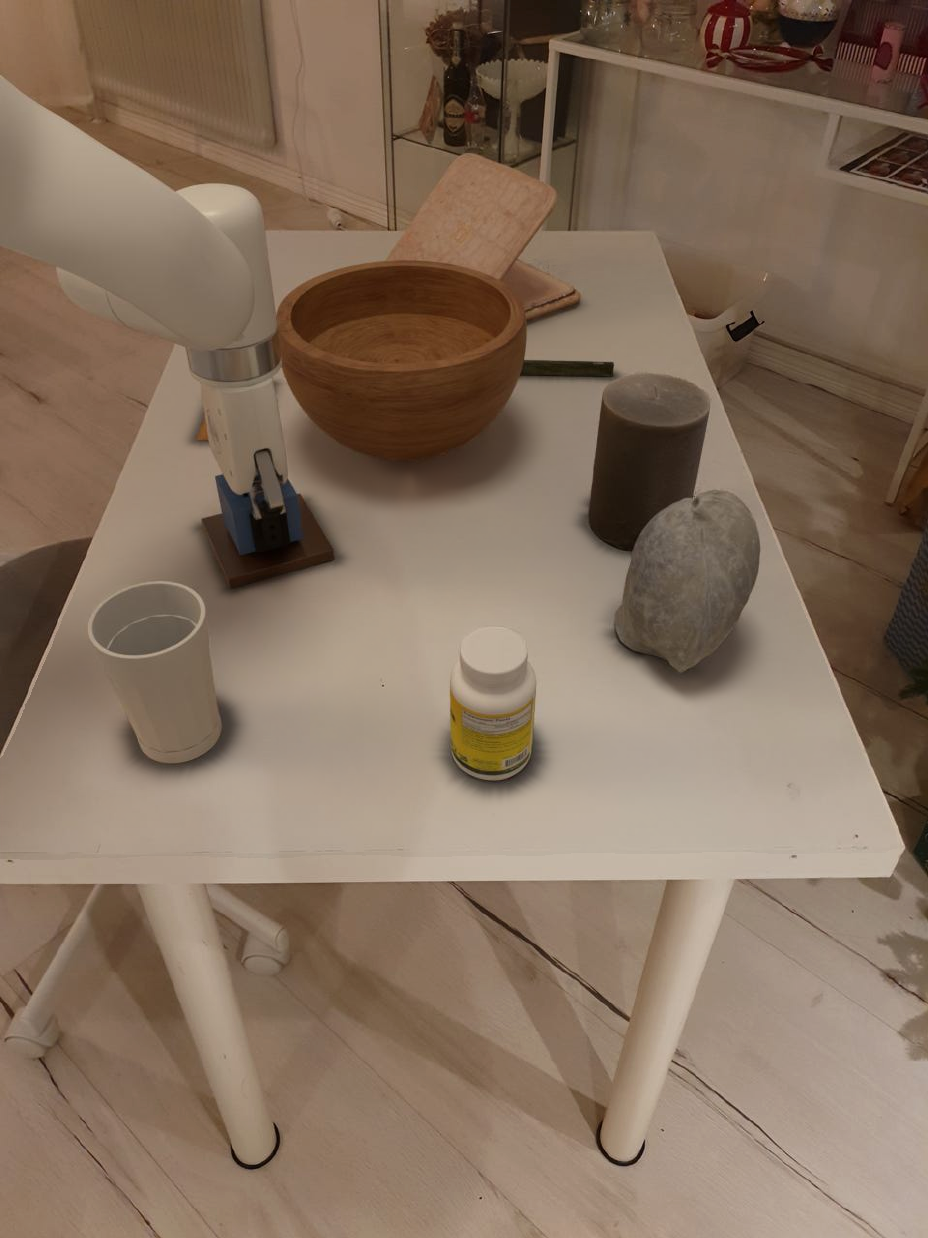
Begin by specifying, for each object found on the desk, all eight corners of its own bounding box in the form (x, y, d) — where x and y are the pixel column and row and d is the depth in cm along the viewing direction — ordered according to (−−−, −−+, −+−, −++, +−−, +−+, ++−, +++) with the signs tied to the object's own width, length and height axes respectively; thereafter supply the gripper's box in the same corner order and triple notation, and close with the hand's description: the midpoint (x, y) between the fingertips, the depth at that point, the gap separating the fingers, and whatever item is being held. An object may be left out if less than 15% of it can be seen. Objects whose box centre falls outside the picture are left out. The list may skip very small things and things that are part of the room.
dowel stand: (230, 589, 89) (218, 530, 84) (203, 528, 95) (190, 471, 91) (334, 559, 92) (328, 502, 87) (301, 502, 98) (293, 446, 94)
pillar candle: (610, 560, 92) (628, 420, 82) (574, 501, 99) (587, 365, 89) (705, 543, 94) (734, 404, 84) (663, 486, 101) (685, 352, 90)
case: (375, 291, 135) (367, 169, 124) (495, 255, 144) (498, 138, 133) (463, 348, 123) (463, 218, 112) (588, 304, 132) (599, 180, 121)
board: (271, 385, 116) (269, 374, 115) (254, 440, 107) (252, 428, 106) (218, 385, 116) (216, 374, 115) (197, 440, 107) (194, 428, 106)
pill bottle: (466, 712, 78) (466, 609, 70) (541, 732, 76) (549, 629, 69) (438, 771, 73) (436, 667, 66) (517, 793, 72) (524, 690, 64)
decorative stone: (600, 578, 90) (618, 437, 80) (711, 574, 90) (743, 433, 80) (631, 699, 79) (657, 553, 69) (757, 693, 79) (801, 548, 69)
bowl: (242, 453, 105) (219, 321, 95) (393, 363, 120) (387, 240, 110) (424, 540, 94) (419, 401, 84) (565, 429, 109) (576, 300, 98)
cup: (216, 682, 80) (189, 568, 72) (245, 749, 75) (218, 636, 67) (118, 714, 77) (77, 600, 69) (140, 786, 72) (99, 672, 64)
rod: (612, 374, 118) (613, 359, 116) (612, 378, 117) (614, 363, 116) (353, 370, 118) (351, 355, 117) (352, 374, 118) (350, 358, 116)
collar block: (240, 555, 89) (231, 510, 86) (223, 519, 93) (214, 475, 90) (303, 538, 91) (297, 494, 88) (283, 504, 95) (277, 460, 92)
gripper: (164, 315, 84) (200, 489, 96) (215, 408, 73) (248, 592, 85) (249, 300, 87) (274, 471, 99) (311, 387, 75) (330, 569, 87)
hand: (262, 525), depth 92 cm, fingers closed on collar block, 6 cm apart
